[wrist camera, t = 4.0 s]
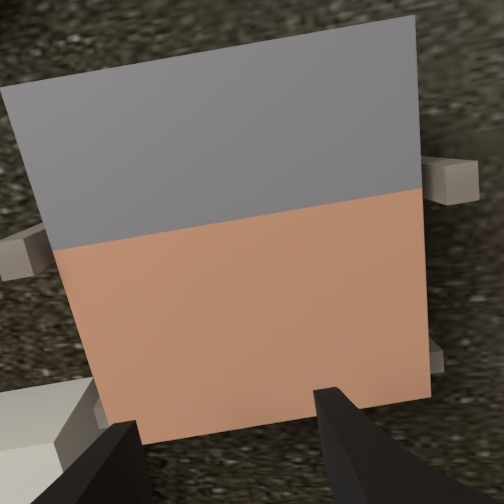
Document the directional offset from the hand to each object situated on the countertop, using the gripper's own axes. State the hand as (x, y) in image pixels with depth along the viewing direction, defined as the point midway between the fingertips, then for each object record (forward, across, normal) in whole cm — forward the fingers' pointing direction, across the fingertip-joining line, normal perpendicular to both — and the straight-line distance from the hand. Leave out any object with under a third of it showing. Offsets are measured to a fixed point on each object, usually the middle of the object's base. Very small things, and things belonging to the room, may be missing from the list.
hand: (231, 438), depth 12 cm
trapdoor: (+7, -1, -4) cm, 8 cm away
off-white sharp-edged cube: (+10, +10, +5) cm, 15 cm away
